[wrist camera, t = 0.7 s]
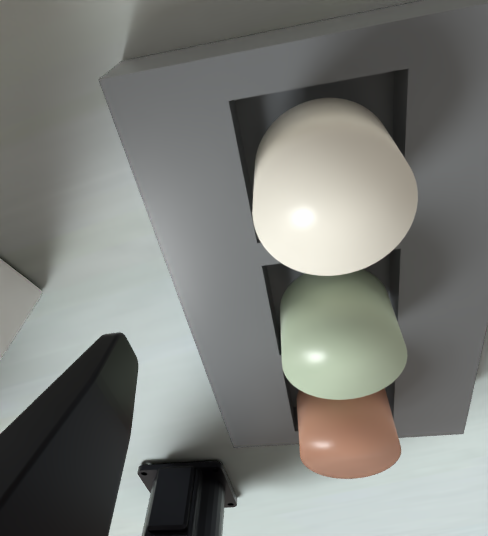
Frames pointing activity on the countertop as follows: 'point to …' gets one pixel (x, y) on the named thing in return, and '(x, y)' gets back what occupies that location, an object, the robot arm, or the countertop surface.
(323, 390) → the sage button
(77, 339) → the countertop surface
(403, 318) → the panel
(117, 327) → the countertop surface
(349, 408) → the terracotta button
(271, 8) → the countertop surface
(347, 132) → the cream button
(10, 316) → the milk carton
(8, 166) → the countertop surface
